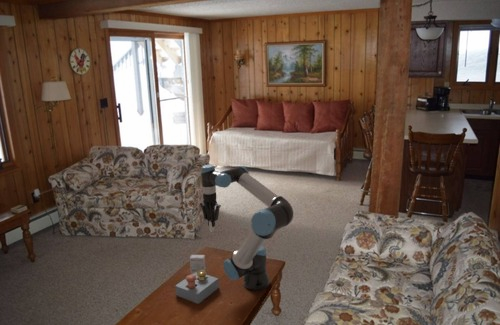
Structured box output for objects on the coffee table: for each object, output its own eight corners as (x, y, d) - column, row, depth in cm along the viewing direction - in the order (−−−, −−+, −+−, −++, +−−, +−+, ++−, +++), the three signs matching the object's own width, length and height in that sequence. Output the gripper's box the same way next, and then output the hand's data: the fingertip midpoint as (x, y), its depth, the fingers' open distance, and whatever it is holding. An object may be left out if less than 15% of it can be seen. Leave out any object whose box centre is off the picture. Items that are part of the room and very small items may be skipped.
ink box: (206, 271, 251) (205, 254, 248) (204, 276, 246) (203, 258, 243) (192, 271, 252) (191, 254, 249) (190, 275, 247) (189, 258, 244)
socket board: (218, 287, 234) (218, 278, 232) (198, 304, 219) (197, 294, 218) (197, 280, 242) (196, 271, 241) (176, 295, 228) (175, 285, 226)
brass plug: (209, 285, 235) (208, 271, 232) (203, 289, 230) (202, 275, 228) (202, 282, 238) (201, 269, 235) (195, 287, 233) (194, 273, 231)
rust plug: (199, 290, 227) (198, 276, 225) (192, 295, 223) (191, 280, 220) (191, 287, 230) (190, 273, 228) (185, 292, 226) (183, 278, 223)
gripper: (222, 191, 230) (225, 230, 236) (203, 189, 236) (206, 226, 242) (215, 195, 224) (217, 235, 230) (196, 192, 230) (199, 231, 236)
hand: (212, 231), depth 236 cm, fingers closed
